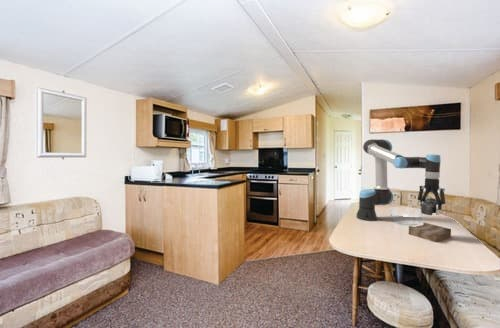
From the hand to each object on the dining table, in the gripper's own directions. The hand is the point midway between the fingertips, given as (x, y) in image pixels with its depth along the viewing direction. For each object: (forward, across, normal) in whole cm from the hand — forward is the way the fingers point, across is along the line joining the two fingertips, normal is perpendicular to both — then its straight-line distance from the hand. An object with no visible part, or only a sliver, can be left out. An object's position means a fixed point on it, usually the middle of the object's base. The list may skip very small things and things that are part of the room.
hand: (430, 212), depth 161 cm
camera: (+1, 0, 0) cm, 1 cm away
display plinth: (+15, 0, 0) cm, 15 cm away
